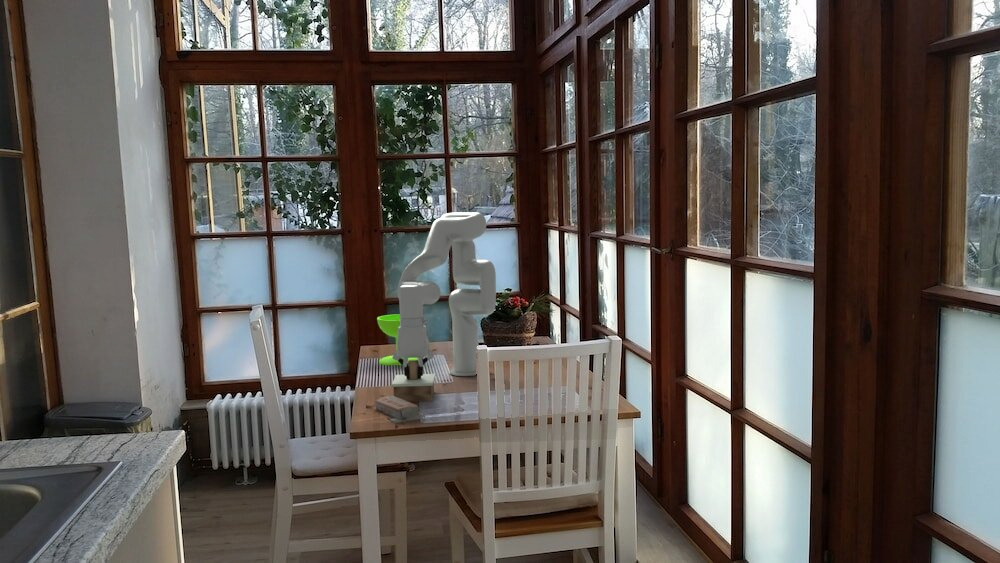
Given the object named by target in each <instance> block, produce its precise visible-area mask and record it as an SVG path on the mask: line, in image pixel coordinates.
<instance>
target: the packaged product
mask: <svg viewBox="0 0 1000 563" xmlns="http://www.w3.org/2000/svg"><path fill="white" fill-rule="evenodd" d="M374 406H375V407H372V410H375V411H378V412H379V413H382V414H384V415H387V416H390V417H391V418H390V417H389V418H386V420H388V421H390V422H392V423H394V424H397V425H398V424H401V423H406V422H410V421H417V420H420V419H424V418H425V413H423V412H421V411H420V408H419V405H417V404H416V403H414V402H408V401H406V400H403V399H401V398H398V397H396V396H394V395H391V394H387V395H384V396H382V397H380V398H378V399H377V400H375V401H374ZM423 417H424V418H423Z"/></svg>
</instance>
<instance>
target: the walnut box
mask: <svg viewBox="0 0 1000 563" xmlns="http://www.w3.org/2000/svg"><path fill="white" fill-rule="evenodd" d="M434 394H435V382H434V383H433V386H401V387H393V396H396V397H398V398H401V399H403V400H406V401H408V402H411V403H416V402H417V403H420V402H423V403H424V402H432V401H433V398H434Z"/></svg>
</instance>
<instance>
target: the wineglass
mask: <svg viewBox="0 0 1000 563" xmlns="http://www.w3.org/2000/svg"><path fill="white" fill-rule="evenodd" d="M376 321H377V325H378V327H379V329H380V330H381V331H382V332H383V333H385V335H387V336H390V337H392V338H395V351H396V350H397V334H398V327H399V326H400V313H399V314H387V315H386V314H385V315H381V316H377V318H376ZM393 356H394V354H393V355H388V356H385V357H382V358H380V359H379V361H378V363H379V364H380V365H382V364H383V365H384V366H389V365H399V366H403V365H402V364H401V363H400V362H398V361H396V360H394V359H393ZM400 358H401V357H400ZM402 359H404V358H402ZM409 360H418V357H416V358H408V361H409Z"/></svg>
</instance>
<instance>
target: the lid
mask: <svg viewBox="0 0 1000 563" xmlns="http://www.w3.org/2000/svg"><path fill="white" fill-rule="evenodd" d="M408 365H409V379H407V378H406V376H405V375H404V374H396V375H395V376H394V379H393V381H392V382H391V388H394V387H401V386H433V383H434V384H435V380H436V373H423V376H421V379H418V366H419V361H418V360H409V361H408Z"/></svg>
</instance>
